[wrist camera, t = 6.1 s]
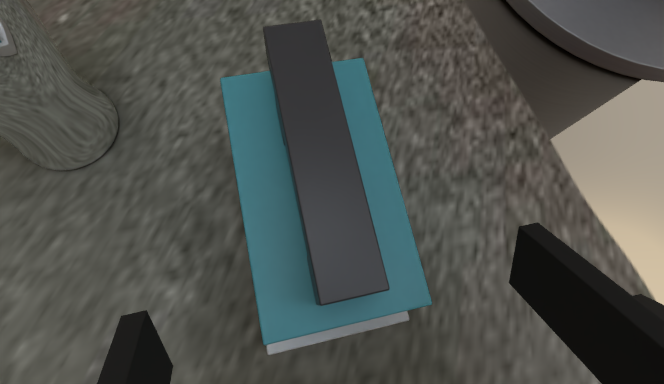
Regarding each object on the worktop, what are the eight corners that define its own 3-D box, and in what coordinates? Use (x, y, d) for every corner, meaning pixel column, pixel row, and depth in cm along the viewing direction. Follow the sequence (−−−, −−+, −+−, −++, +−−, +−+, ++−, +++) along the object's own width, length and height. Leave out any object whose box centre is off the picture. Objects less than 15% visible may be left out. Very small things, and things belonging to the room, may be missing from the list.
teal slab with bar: (401, 319, 23) (487, 332, 12) (270, 351, 22) (243, 395, 11) (336, 67, 28) (358, -79, 17) (225, 82, 26) (176, -63, 16)
